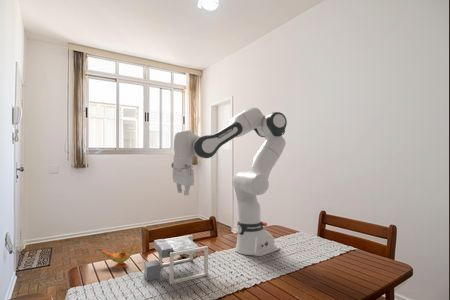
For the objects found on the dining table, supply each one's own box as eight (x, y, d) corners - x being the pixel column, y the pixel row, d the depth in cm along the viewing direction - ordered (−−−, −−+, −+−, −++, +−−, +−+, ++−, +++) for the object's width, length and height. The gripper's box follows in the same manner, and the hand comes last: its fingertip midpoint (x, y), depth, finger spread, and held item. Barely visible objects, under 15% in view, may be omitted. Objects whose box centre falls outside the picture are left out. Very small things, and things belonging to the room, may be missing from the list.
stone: (157, 272, 102) (157, 259, 102) (160, 277, 97) (160, 264, 98) (144, 275, 99) (144, 262, 100) (146, 280, 95) (146, 267, 95)
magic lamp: (100, 262, 112) (100, 237, 112) (140, 262, 111) (140, 237, 112) (91, 268, 105) (92, 242, 105) (134, 269, 104) (134, 242, 105)
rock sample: (189, 254, 111) (183, 237, 117) (177, 264, 112) (171, 246, 118) (203, 257, 118) (197, 241, 124) (191, 266, 119) (185, 250, 125)
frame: (191, 259, 115) (191, 234, 115) (208, 275, 99) (208, 246, 99) (158, 266, 107) (158, 240, 108) (170, 284, 92) (170, 253, 92)
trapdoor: (186, 241, 112) (186, 234, 112) (199, 251, 99) (199, 244, 99) (153, 246, 105) (153, 239, 105) (162, 259, 92) (162, 250, 92)
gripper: (197, 164, 112) (197, 196, 111) (182, 164, 130) (182, 191, 129) (183, 165, 109) (183, 197, 108) (170, 164, 127) (170, 191, 126)
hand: (182, 193), depth 119 cm, fingers open, 8 cm apart
